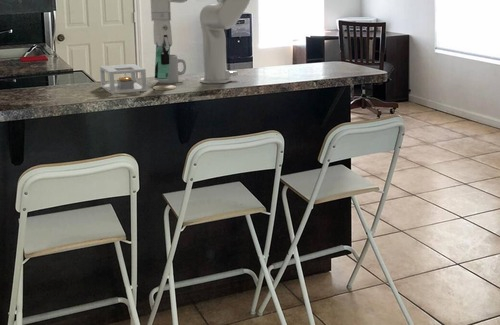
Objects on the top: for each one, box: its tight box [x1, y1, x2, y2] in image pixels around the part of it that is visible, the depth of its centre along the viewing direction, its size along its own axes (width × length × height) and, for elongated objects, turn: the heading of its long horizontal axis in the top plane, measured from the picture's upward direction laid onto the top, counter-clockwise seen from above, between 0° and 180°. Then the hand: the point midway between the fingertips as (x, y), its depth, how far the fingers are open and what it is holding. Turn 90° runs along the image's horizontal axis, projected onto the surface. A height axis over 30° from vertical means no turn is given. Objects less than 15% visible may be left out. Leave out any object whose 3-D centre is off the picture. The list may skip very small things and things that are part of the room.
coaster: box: [152, 84, 177, 91], centre depth 277 cm, size 9×9×1 cm
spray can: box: [154, 42, 171, 81], centre depth 274 cm, size 6×6×20 cm
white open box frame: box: [99, 63, 148, 95], centre depth 276 cm, size 14×18×8 cm
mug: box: [157, 54, 187, 84], centre depth 292 cm, size 12×8×11 cm
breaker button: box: [118, 76, 132, 81], centre depth 273 cm, size 5×5×4 cm
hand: (163, 63), depth 274 cm, fingers closed on spray can, 5 cm apart
